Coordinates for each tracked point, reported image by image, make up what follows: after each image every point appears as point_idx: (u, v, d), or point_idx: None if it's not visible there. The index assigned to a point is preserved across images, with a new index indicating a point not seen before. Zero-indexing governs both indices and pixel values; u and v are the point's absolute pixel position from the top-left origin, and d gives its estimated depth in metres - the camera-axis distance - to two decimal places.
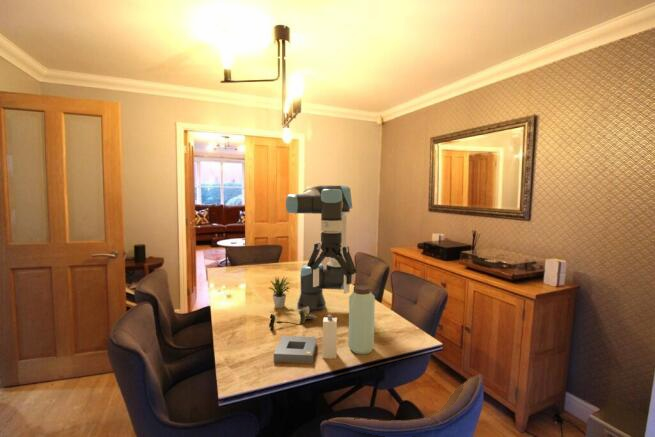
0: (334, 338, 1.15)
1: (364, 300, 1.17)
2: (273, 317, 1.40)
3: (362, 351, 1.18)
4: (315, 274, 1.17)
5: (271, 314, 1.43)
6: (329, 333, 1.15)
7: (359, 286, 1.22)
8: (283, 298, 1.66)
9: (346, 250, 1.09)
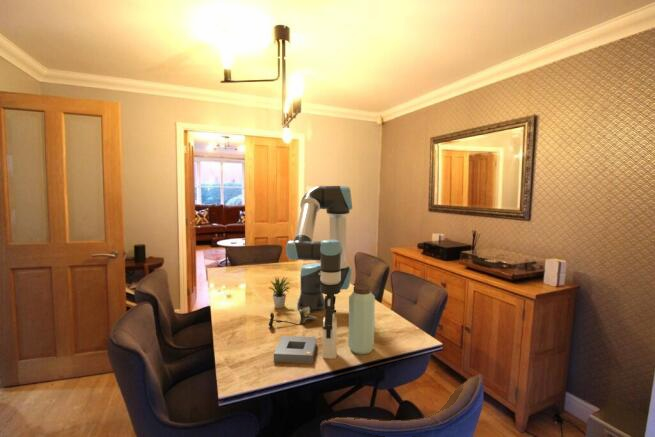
0: (334, 338, 1.15)
1: (364, 300, 1.17)
2: (272, 316, 1.41)
3: (362, 351, 1.18)
4: None
5: None
6: None
7: (359, 286, 1.22)
8: (283, 298, 1.66)
9: (327, 303, 1.09)
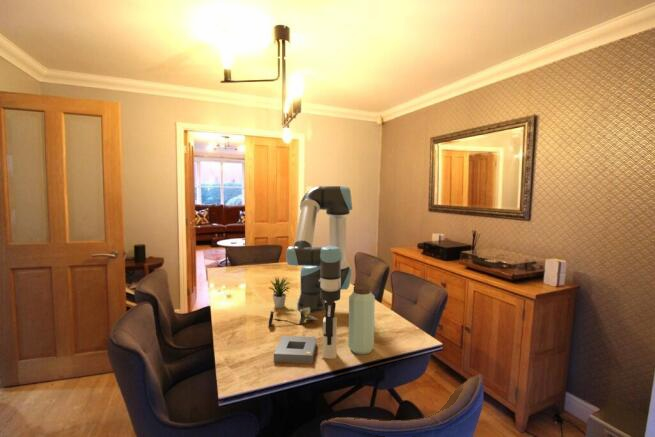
0: (334, 338, 1.15)
1: (364, 300, 1.17)
2: (271, 314, 1.43)
3: (362, 351, 1.18)
4: None
5: (271, 311, 1.46)
6: None
7: (359, 286, 1.22)
8: (283, 298, 1.66)
9: (327, 315, 1.10)
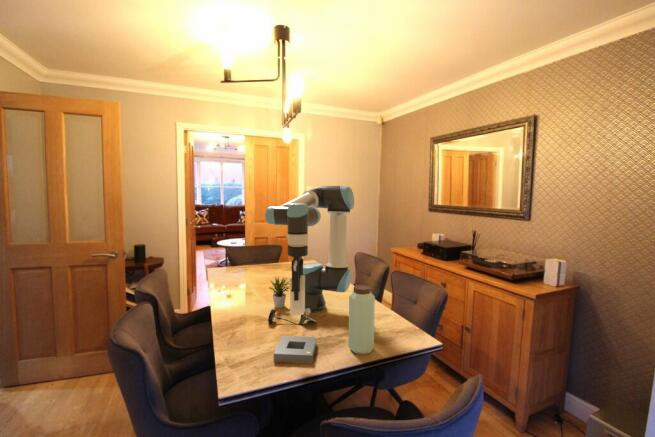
0: (301, 294, 1.16)
1: (364, 300, 1.17)
2: (271, 312, 1.46)
3: (362, 351, 1.18)
4: None
5: (273, 309, 1.49)
6: None
7: (359, 286, 1.22)
8: (283, 298, 1.66)
9: (293, 269, 1.11)
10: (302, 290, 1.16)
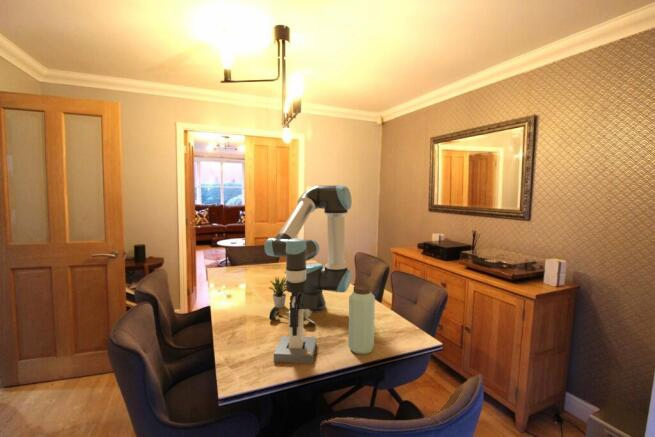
0: (300, 329, 1.17)
1: (364, 300, 1.17)
2: (272, 309, 1.49)
3: (362, 351, 1.18)
4: None
5: (276, 307, 1.52)
6: None
7: (359, 286, 1.22)
8: (283, 298, 1.66)
9: (291, 306, 1.12)
10: (300, 325, 1.17)
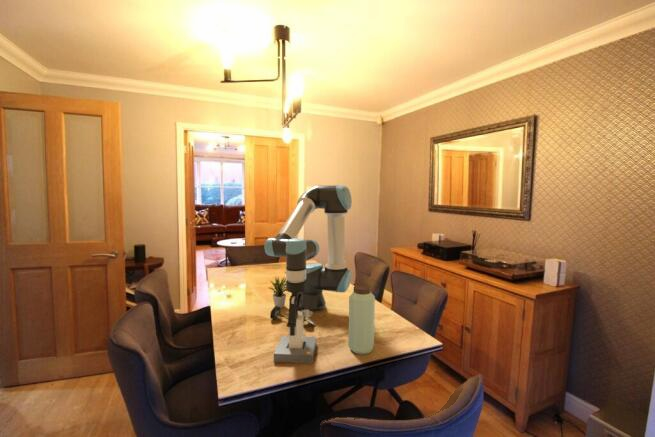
0: (300, 335, 1.17)
1: (364, 300, 1.17)
2: (274, 309, 1.50)
3: (362, 351, 1.18)
4: None
5: (278, 306, 1.53)
6: None
7: (359, 286, 1.22)
8: (283, 298, 1.66)
9: (291, 301, 1.11)
10: (300, 331, 1.17)
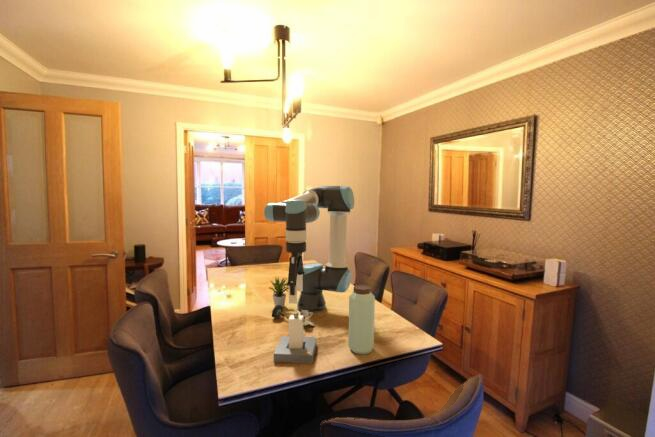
0: (300, 335, 1.17)
1: (364, 300, 1.17)
2: (275, 307, 1.51)
3: (362, 351, 1.18)
4: (297, 279, 1.24)
5: (280, 305, 1.54)
6: (294, 330, 1.17)
7: (359, 286, 1.22)
8: (283, 298, 1.66)
9: (291, 261, 1.10)
10: (300, 331, 1.17)
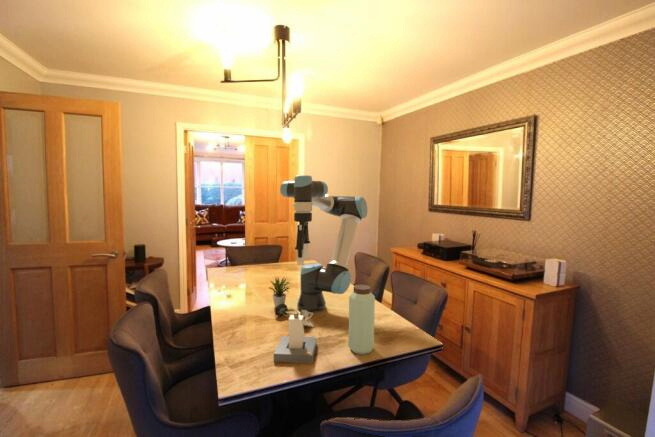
0: (300, 335, 1.17)
1: (364, 300, 1.17)
2: (278, 306, 1.53)
3: (362, 351, 1.18)
4: (303, 247, 1.40)
5: (284, 304, 1.56)
6: (294, 330, 1.17)
7: (359, 286, 1.22)
8: (283, 298, 1.66)
9: (299, 228, 1.26)
10: (300, 331, 1.17)
